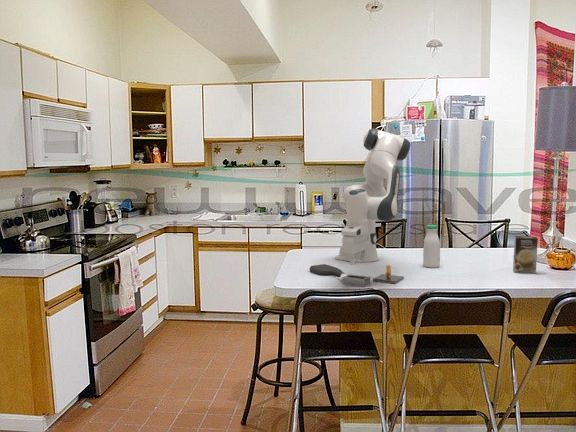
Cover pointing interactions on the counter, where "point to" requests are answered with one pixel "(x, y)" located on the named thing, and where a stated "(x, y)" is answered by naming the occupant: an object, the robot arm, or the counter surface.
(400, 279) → the keeper
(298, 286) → the counter surface
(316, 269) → the drumstick
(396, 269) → the counter surface
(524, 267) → the coffee box
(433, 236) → the milk bottle
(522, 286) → the counter surface
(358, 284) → the grey open tray
